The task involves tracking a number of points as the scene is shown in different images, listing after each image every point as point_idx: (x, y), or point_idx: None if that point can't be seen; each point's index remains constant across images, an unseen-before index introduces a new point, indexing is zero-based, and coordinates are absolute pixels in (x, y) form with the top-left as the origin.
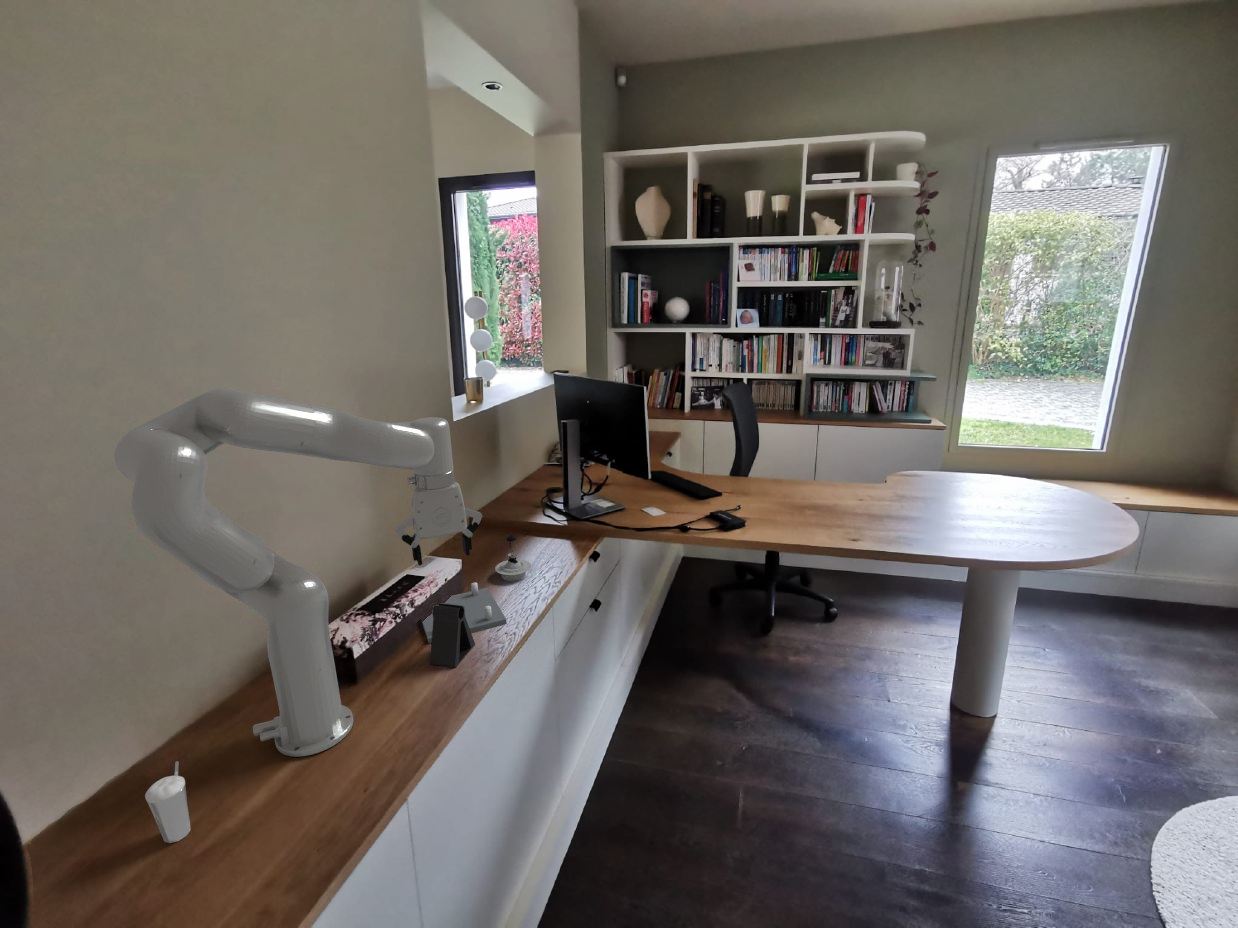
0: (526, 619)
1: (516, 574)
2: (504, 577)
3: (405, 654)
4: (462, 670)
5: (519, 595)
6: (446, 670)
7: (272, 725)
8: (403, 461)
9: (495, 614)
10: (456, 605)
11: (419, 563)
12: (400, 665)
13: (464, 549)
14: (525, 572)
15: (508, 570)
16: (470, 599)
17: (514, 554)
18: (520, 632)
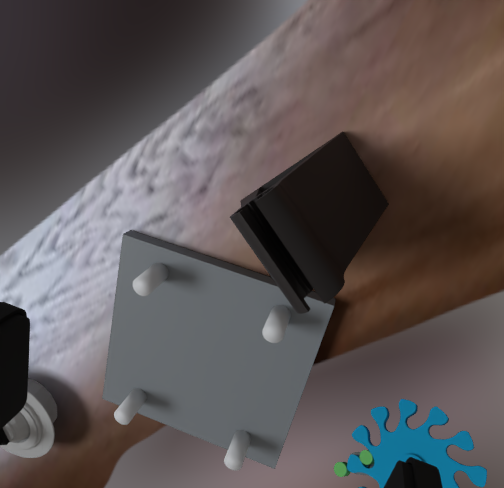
0: (81, 209)
1: None
2: (51, 408)
3: (412, 298)
4: (332, 104)
5: (53, 319)
6: (367, 139)
7: None
8: None
9: (136, 276)
10: (254, 232)
11: (435, 476)
12: (453, 260)
13: (3, 384)
14: None
15: (27, 412)
16: (158, 384)
17: None
18: (119, 163)
